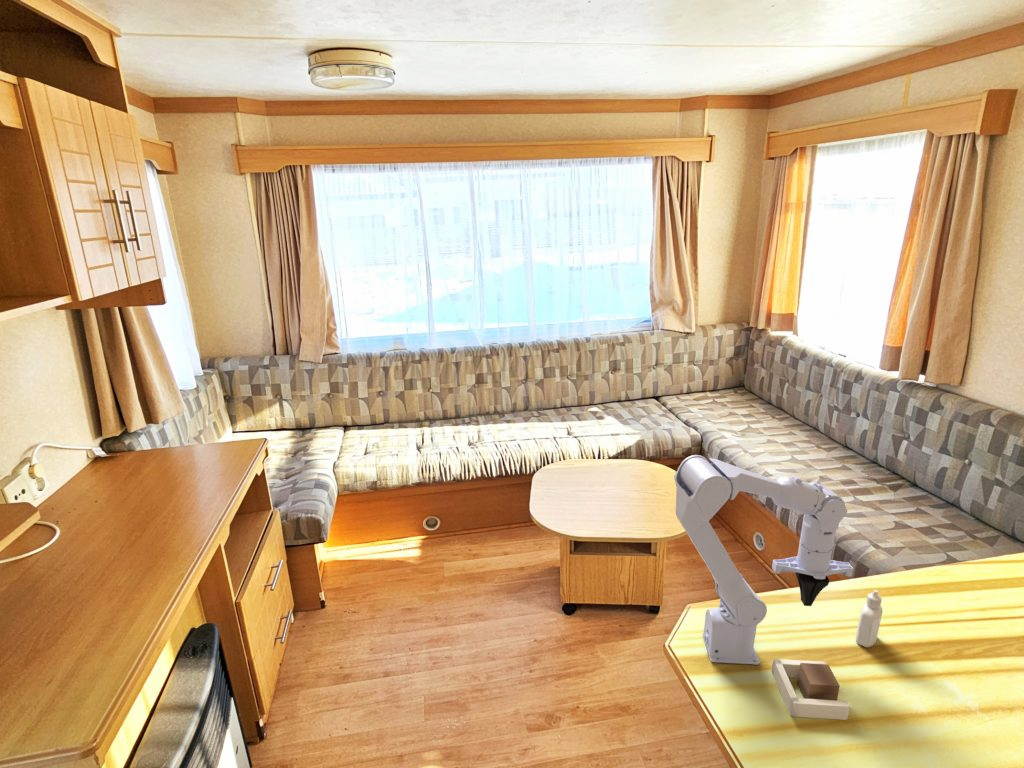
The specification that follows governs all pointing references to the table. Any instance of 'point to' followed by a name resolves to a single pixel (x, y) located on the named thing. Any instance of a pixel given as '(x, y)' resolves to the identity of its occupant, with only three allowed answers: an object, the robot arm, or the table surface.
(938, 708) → the table surface
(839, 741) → the table surface
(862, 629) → the eye dropper bottle
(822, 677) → the walnut cube
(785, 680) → the dock
